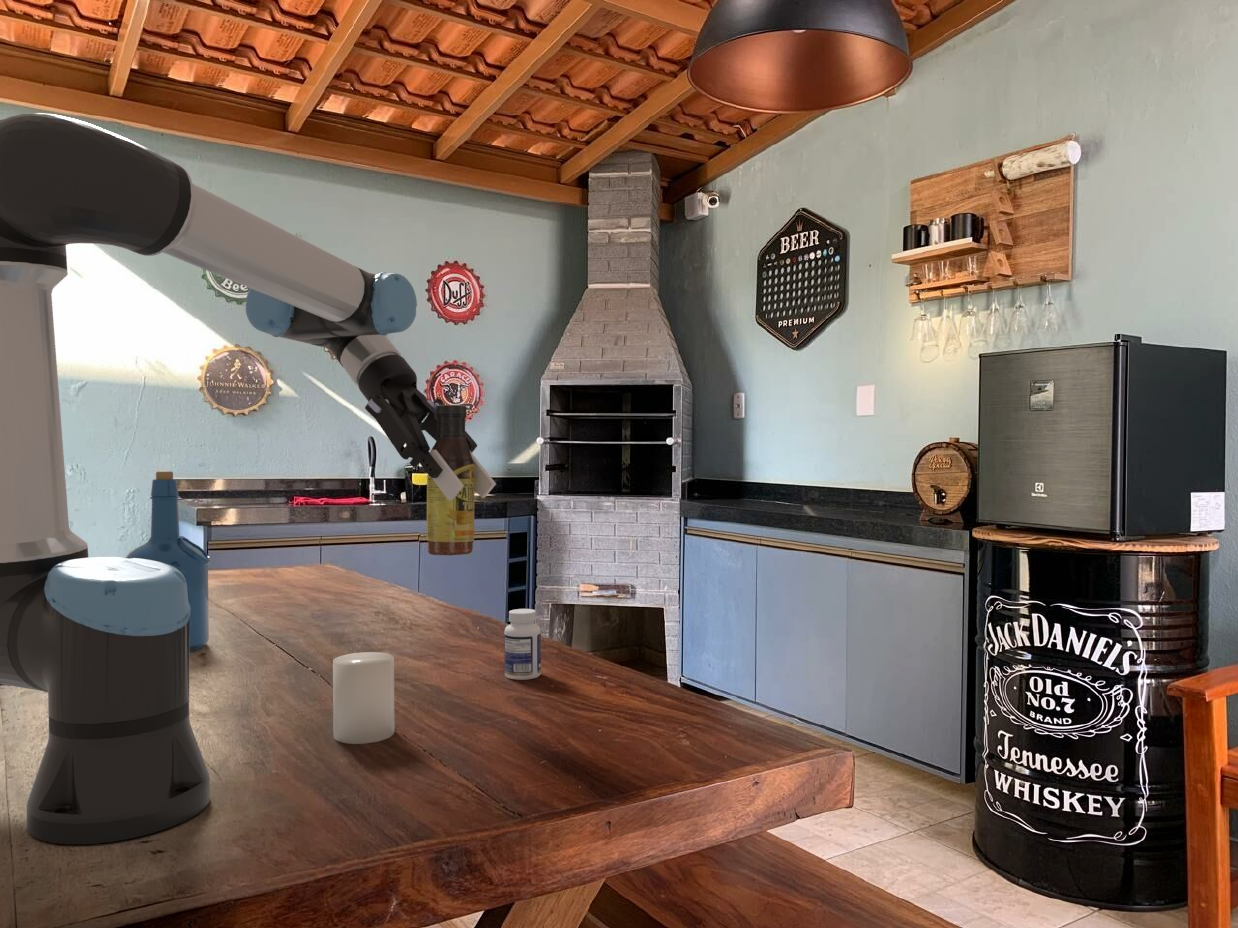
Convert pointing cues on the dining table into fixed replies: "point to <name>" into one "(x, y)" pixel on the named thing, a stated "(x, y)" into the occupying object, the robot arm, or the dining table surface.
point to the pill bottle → (522, 645)
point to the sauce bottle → (456, 517)
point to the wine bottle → (178, 553)
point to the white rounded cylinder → (363, 697)
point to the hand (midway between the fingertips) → (472, 491)
